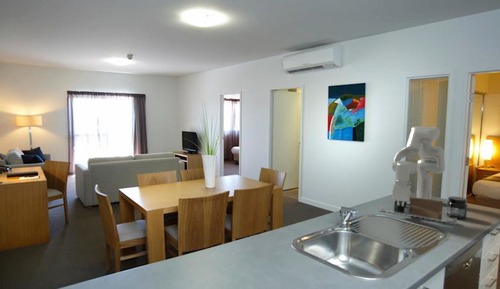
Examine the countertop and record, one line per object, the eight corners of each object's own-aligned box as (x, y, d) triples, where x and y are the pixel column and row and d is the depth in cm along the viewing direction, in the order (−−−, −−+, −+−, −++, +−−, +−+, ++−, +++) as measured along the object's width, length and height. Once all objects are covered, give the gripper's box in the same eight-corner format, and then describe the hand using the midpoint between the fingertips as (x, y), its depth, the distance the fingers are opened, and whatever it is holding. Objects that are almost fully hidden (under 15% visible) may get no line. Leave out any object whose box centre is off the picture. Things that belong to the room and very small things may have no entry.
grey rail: (380, 209, 207) (380, 205, 206) (456, 223, 181) (456, 218, 180) (378, 210, 204) (379, 206, 204) (456, 224, 178) (456, 219, 178)
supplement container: (460, 214, 197) (461, 196, 196) (470, 220, 187) (471, 200, 186) (442, 214, 198) (444, 195, 197) (452, 219, 188) (453, 200, 187)
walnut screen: (405, 212, 197) (406, 195, 196) (441, 219, 185) (442, 201, 184) (402, 216, 189) (403, 199, 188) (439, 223, 177) (441, 204, 176)
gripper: (416, 183, 188) (415, 212, 190) (390, 180, 197) (389, 208, 199) (414, 185, 182) (412, 215, 184) (387, 182, 191) (386, 210, 193)
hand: (400, 211), depth 191 cm, fingers closed
